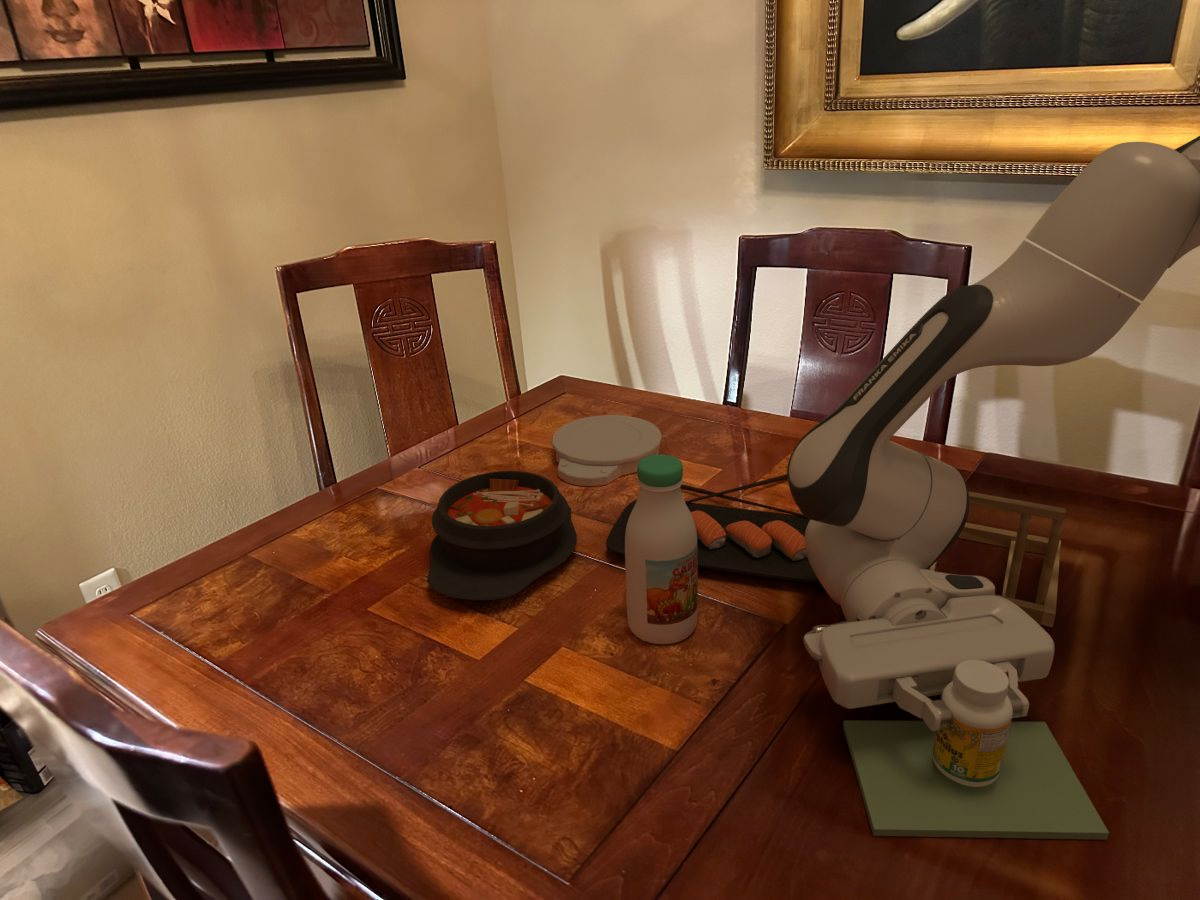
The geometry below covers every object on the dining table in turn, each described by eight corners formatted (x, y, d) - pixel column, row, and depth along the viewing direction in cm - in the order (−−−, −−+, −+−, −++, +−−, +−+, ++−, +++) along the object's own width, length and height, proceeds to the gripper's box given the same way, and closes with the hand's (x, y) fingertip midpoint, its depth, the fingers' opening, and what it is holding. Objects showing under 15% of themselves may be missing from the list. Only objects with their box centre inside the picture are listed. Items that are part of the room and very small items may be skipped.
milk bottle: (620, 642, 91) (613, 477, 82) (635, 600, 97) (630, 444, 89) (692, 650, 89) (692, 483, 80) (701, 607, 95) (703, 448, 87)
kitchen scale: (525, 477, 126) (523, 459, 125) (579, 425, 143) (578, 409, 142) (632, 494, 120) (632, 476, 119) (676, 438, 137) (676, 421, 135)
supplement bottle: (1013, 781, 70) (1034, 692, 65) (955, 795, 69) (973, 705, 64) (973, 735, 74) (990, 648, 70) (918, 747, 73) (932, 660, 69)
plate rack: (903, 522, 110) (915, 433, 104) (1058, 553, 102) (1079, 458, 97) (878, 587, 97) (890, 490, 92) (1052, 627, 89) (1076, 523, 84)
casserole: (477, 500, 121) (470, 448, 117) (601, 513, 116) (599, 459, 112) (392, 602, 99) (381, 541, 95) (541, 623, 94) (535, 560, 90)
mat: (1043, 728, 77) (1045, 721, 76) (1107, 840, 66) (1109, 832, 66) (842, 726, 78) (843, 720, 78) (873, 836, 67) (874, 829, 67)
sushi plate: (598, 563, 105) (597, 536, 103) (661, 459, 130) (661, 436, 128) (840, 599, 96) (843, 570, 94) (856, 479, 121) (859, 456, 119)
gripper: (797, 603, 78) (864, 707, 65) (1002, 574, 80) (1103, 669, 68) (794, 657, 80) (857, 767, 68) (992, 627, 83) (1087, 728, 71)
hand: (982, 717), depth 68 cm, fingers closed on supplement bottle, 5 cm apart
